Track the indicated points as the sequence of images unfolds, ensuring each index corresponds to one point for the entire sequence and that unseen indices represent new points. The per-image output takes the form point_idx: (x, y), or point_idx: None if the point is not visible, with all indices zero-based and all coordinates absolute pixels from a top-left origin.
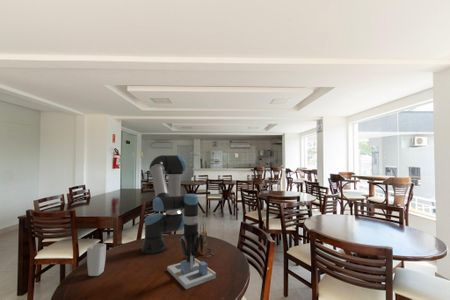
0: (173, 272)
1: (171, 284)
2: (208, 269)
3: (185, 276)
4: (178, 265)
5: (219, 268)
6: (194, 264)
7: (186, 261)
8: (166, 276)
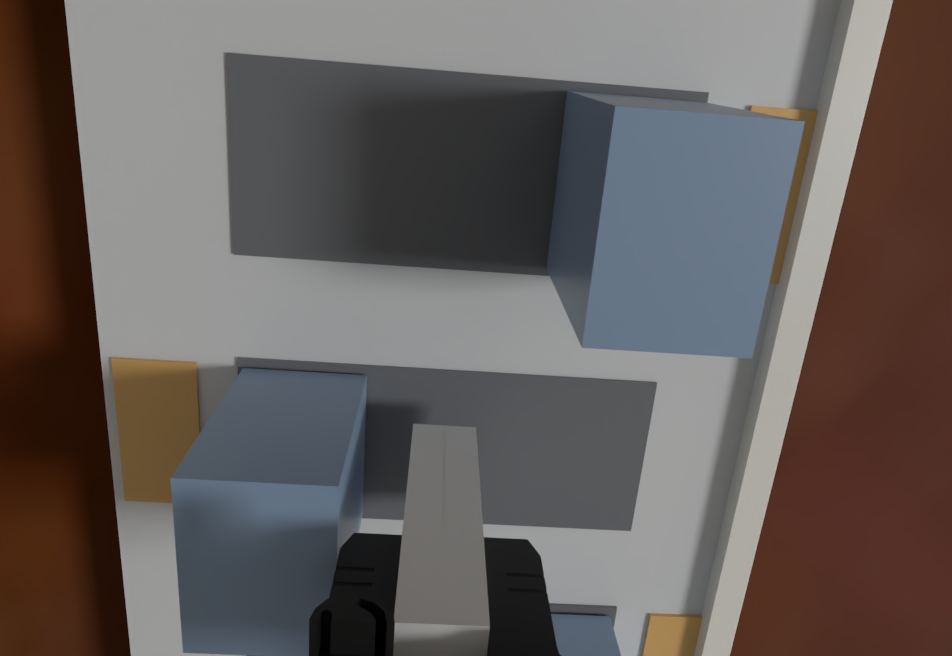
0: (97, 309)
1: (12, 494)
2: (701, 640)
3: None
4: (325, 85)
5: (943, 556)
6: None
7: (312, 570)
8: (3, 195)
